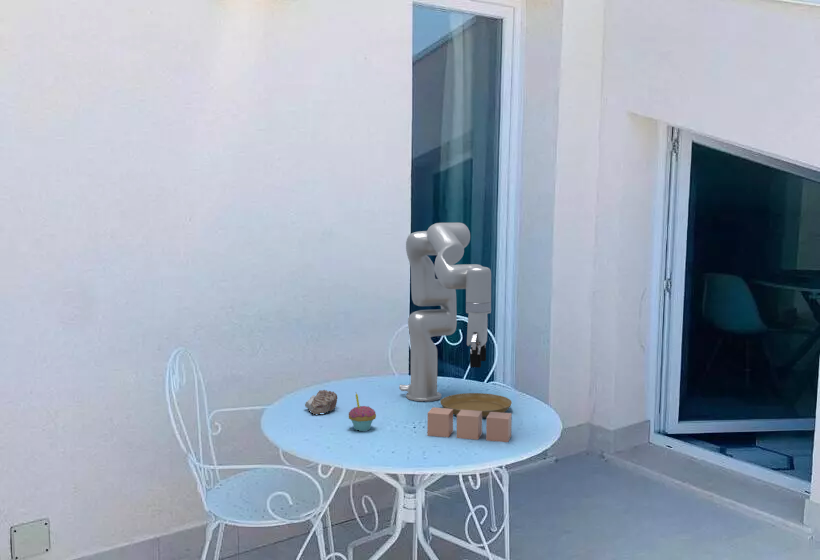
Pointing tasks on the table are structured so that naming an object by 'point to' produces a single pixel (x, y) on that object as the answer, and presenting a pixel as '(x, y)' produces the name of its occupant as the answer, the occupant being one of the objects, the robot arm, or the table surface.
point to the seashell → (322, 402)
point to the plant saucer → (476, 403)
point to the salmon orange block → (498, 426)
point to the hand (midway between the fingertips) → (478, 363)
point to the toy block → (469, 424)
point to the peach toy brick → (440, 422)
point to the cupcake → (362, 416)
